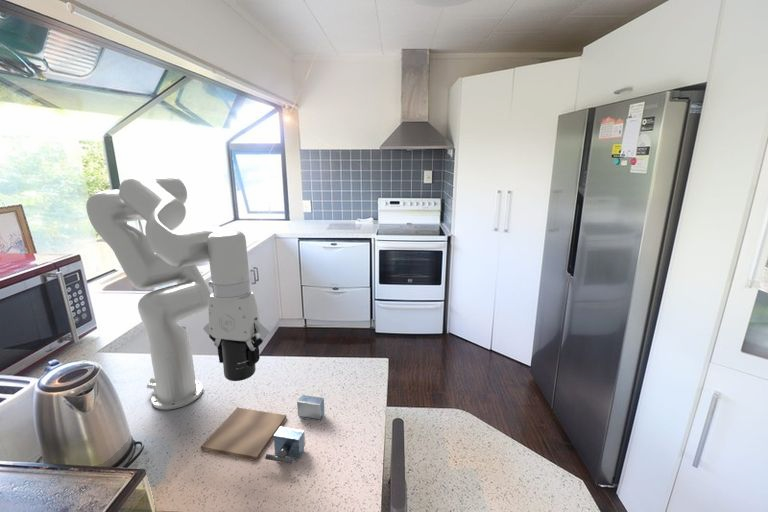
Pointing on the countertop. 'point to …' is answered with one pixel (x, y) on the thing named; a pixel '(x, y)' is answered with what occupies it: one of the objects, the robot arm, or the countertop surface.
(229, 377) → the supplement bottle
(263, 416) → the walnut board
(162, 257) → the robot arm
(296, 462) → the countertop surface
